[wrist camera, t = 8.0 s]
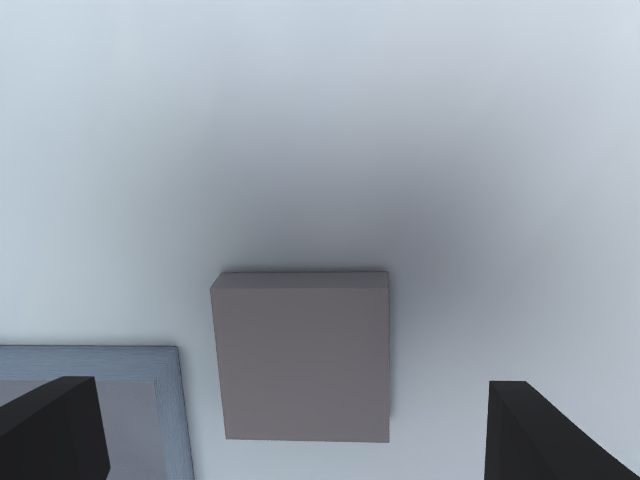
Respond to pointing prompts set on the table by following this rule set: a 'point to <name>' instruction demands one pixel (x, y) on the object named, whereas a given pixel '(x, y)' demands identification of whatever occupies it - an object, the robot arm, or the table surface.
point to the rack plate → (117, 401)
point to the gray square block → (303, 355)
